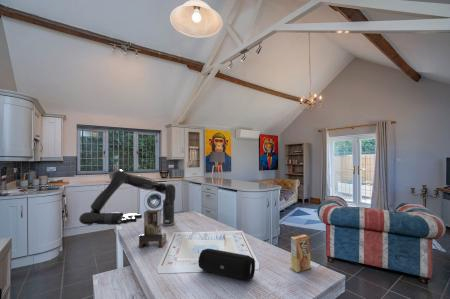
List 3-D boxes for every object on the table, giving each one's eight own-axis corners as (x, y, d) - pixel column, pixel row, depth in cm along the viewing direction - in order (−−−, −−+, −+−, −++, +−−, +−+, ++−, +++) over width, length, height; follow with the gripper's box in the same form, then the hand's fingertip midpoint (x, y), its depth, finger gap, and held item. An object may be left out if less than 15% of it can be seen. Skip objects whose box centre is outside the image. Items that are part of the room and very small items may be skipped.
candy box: (304, 264, 109) (303, 233, 109) (311, 268, 105) (310, 236, 106) (291, 268, 105) (290, 236, 105) (297, 272, 101) (296, 239, 102)
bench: (145, 241, 142) (145, 229, 142) (166, 241, 142) (166, 229, 142) (138, 247, 132) (139, 235, 132) (161, 247, 132) (161, 234, 132)
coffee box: (161, 234, 140) (161, 209, 140) (157, 238, 133) (157, 212, 134) (148, 234, 141) (148, 209, 141) (143, 238, 134) (143, 211, 135)
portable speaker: (197, 274, 101) (197, 252, 102) (207, 264, 110) (207, 244, 111) (249, 286, 91) (249, 262, 91) (255, 274, 100) (255, 252, 100)
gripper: (107, 215, 131) (134, 215, 131) (119, 209, 145) (143, 209, 145) (107, 228, 131) (134, 227, 131) (119, 221, 145) (143, 220, 145)
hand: (139, 218), depth 138 cm, fingers open, 8 cm apart
